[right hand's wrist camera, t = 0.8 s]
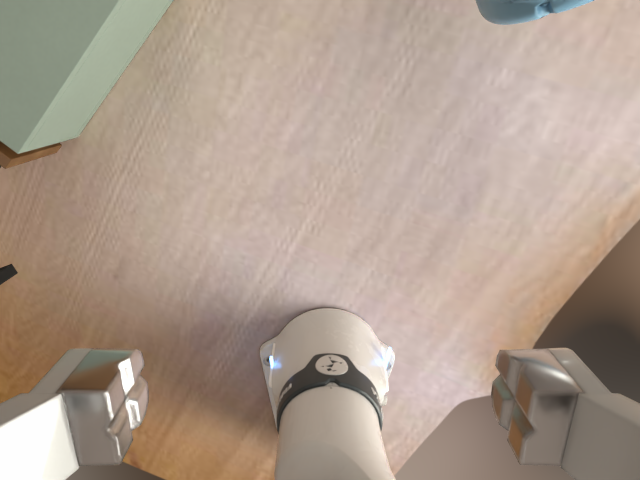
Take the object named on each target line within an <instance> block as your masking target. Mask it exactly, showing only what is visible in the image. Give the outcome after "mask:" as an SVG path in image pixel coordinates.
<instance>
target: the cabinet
mask: <svg viewBox="0 0 640 480" xmlns="http://www.w3.org/2000/svg"><path fill="white" fill-rule="evenodd" d="M172 2H173V0H0V141H1V142H2V143H4V144H5V145H7V146H8V147H9V148H11V149H12V150H13V151H15V152H16V153H17V154H20V153H23V152H27V151H31V150H34V149H38V148H41V147H45V146H49V145H52V144H56V143H59V142H63V141H66V140H70V139H73V138H77V137H78V136H79V135H80V133H81V132H82V131H83V129H84V128H85V126H86V125H87V123H88V122H89V121H90V119H91V118H92V116H93V115H94V113H95V112H96V111H97V109H98V108H99V106H100V105H101V103H102V102H103V100H104V99H105V98H106V96H107V95H108V93H109V92H110V90H111V89H112V88H113V86H114V85H115V83H116V82H117V80H118V79H119V78H120V76H121V75H122V73H123V72H124V70H125V69H126V68H127V66H128V65H129V63H130V62H131V60H132V59H133V57H134V56H135V55H136V53H137V52H138V50H139V49H140V47H141V46H142V45H143V43H144V42H145V40H146V39H147V37H148V36H149V35H150V33H151V32H152V30H153V29H154V27H155V26H156V25H157V23H158V22H159V20H160V19H161V17H162V16H163V14H164V13H165V12H166V10H167V9H168V7H169V6H170V4H171V3H172Z"/></svg>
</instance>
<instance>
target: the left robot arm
mask: <svg viewBox="0 0 640 480" xmlns="http://www.w3.org/2000/svg"><path fill="white" fill-rule="evenodd" d="M591 1H594V0H476V3H477V5H478V8H479V11H480V13H481V14H482V16H483V17H484V18H485V19H486V20H488V21H489V22H492V23H494V24H502V25H508V24H517V23H523V22H528V21H532V20H536V19H540V18H542V17H544V16H546V15H548V14H549V13H559V12H563V11H567V10H570V9H573V8H575V7H578V6H581V5H584V4H586V3H589V2H591ZM16 274H17V271H16V270H15V268H14V267H13V265H12V264H10V265H7V266H5V267H2V268H0V285H1V284H2V283H4V282H5V281H7V280H8V279H10V278H11V277H13V276H14V275H16Z"/></svg>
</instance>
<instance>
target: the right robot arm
mask: <svg viewBox="0 0 640 480" xmlns="http://www.w3.org/2000/svg"><path fill="white" fill-rule="evenodd" d="M260 358H261V363H262V367H263V372H264V376H265V380H266V385H267V389H268V393H269V398H270V402H271V406H272V411H273V415H274V420H275V424H276V428H277V431H278V435H279V436H278V445H277V454H276V463H275V472H274V477H275V480H395V478H394V476H393V474H392V472H391V469H390V467H389V463H388V460H387V456H386V453H385V449H384V445H383V441H382V436H381V430H382V422H383V410H382V407H381V405H382V406H385V405H386V403H387V395H385V392H387V391H388V388H389V386H388V378H389V375H390V373H391V370H392V367H393V364H394V361H395V353H394V351H393V350H392V349H391V347H389V346H387V345H386V344H384V343H383V342H381V341H380V340H379V339H378V338H377V336H376V335H375V333H374V332H373V330H372V329H371V327H370V326H369V325H368V324H367V323H366V322H365V321H364V320H362V319H361V318H360V317H358V316H356V315H355V314H353V313H350V312H348V311H345V310H341V309H335V308H321V309H315V310H311V311H308V312H305V313H303V314H301V315H299V316H297V317H296V318H294V319H293V320H292V321H290V322H289V323H288V324H287V325H286V326H285V328H284V329H283V330H282V331H281V333H280V334H279V335H278V336H276V337H275V338H273V339H271V340H269V341H267V342H265V343H264V344H263V345H262V346H261V347H260ZM267 358H270V360H268V359H267ZM144 366H145V365H144V360H143V355H142V352H141V351H140V350H139V349H105V348H96V349H94V348H73V349H70V350H68V351H67V352H66V353H65V354H64V355H63V356H62V357H61V358H60V359H59V361H58V362H57V363H56V364H55V365H54V366H53V367H52V368H51V369H50V370H49V372H48V373H47V374H46V375H45V376H44V377H43V378H42V379H41V380H40V381H39V382H38V384H37V385H36V386H35V387H34V388H33V389H32V390H31V391H30V392H29V393H26V394H19V395H17V396H15V397H13V398H11V399H9V400H7V401H5V402H3V403H1V404H0V480H65V479H66V478H68V477H69V476H70V475H71V474H72V473H74V472H75V471H76V470H77V469H78V468H79V466H90V465H120V464H121V462H122V460H123V458H124V456H125V454H126V453H127V451H128V449H129V447H130V445H131V443H132V441H133V438H132V432H131V431H132V430H134V429H135V428H137V427H138V426H139V425H141V423H142V421H143V419H144V417H145V415H146V410H147V406H148V396H149V391H148V384H147V381H146V380H145V379H144V378H143V377H142V376H141V375H140V372H141V371H142V369H143V367H144ZM495 366H496V367H497V369H498V371H499V372H500V375H499V376H498V377H497V378H496V379H495V380H494V381H493V384H492V392H491V397H492V407H493V411H494V414H495V417H496V419H497V421H498V423H499V425H501V426H502V427H503V428H505V429H506V430H508V431H509V432H508V438H507V441H508V443H509V445H510V447H511V449H512V450H513V452H514V454H515V456H516V458H517V460H518V462H519V464H520V465H550V466H561V468H562V469H563V470H564V471H565V472H567V473H568V474H569V475H570V476H571V477H573V478H574V479H575V480H640V404H639V403H637V402H635V401H633V400H631V399H629V398H627V397H625V396H623V395H621V394H614V393H613V394H612V393H611V392H610V391H609V390H608V389H607V388H606V387H605V386H604V385H603V384H602V382H601V381H600V380H599V379H598V378H597V377H596V376H595V375H594V374H593V373H592V371H591V370H590V369H589V368H588V367H587V366H586V365H585V364H584V363H583V362H582V361H581V359H580V358H579V357H578V356H577V355H576V354H575V353H574V352H573V351H572V350H570V349H568V348H550V349H518V350H500V351H499V353H498V355H497V359H496V365H495Z"/></svg>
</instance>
